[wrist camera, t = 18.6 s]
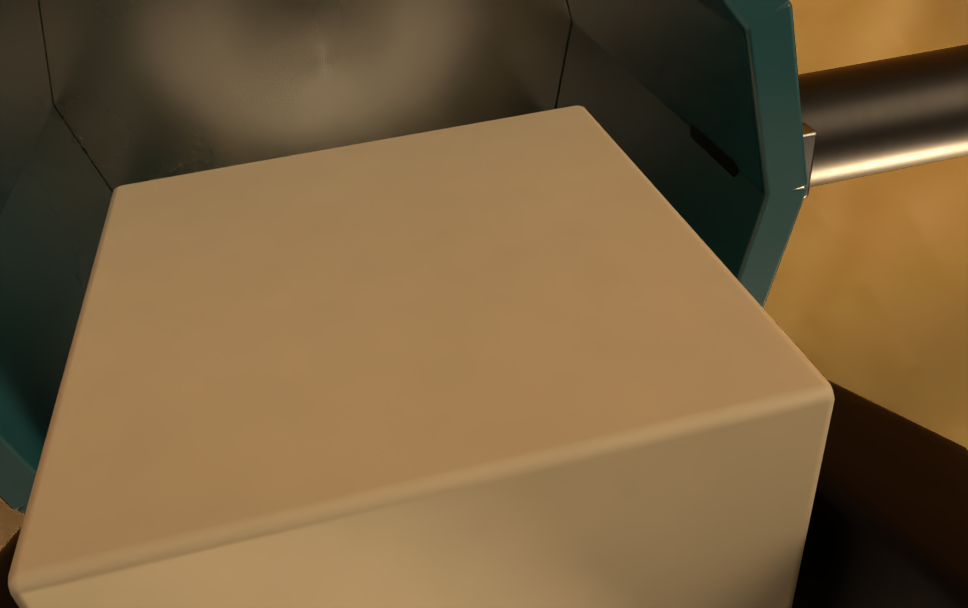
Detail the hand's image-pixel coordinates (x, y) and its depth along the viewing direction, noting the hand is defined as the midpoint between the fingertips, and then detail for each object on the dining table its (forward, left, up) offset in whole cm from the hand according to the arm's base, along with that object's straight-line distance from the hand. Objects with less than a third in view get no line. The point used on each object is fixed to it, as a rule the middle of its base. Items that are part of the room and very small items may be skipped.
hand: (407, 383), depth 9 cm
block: (0, 0, -1) cm, 1 cm away
